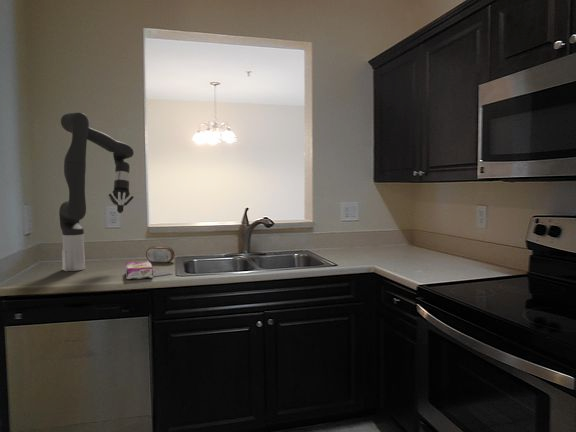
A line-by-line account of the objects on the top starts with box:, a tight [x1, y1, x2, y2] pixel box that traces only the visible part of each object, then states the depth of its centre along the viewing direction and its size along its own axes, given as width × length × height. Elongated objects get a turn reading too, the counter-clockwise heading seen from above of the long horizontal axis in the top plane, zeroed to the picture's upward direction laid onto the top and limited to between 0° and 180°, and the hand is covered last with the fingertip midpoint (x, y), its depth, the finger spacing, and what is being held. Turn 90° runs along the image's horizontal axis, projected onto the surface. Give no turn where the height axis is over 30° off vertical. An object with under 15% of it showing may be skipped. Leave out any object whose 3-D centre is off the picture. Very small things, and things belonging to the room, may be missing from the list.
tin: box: [145, 245, 175, 264], centre depth 222 cm, size 15×3×8 cm, turn 84°
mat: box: [134, 269, 173, 280], centre depth 191 cm, size 17×9×1 cm, turn 130°
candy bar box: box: [125, 260, 154, 280], centre depth 189 cm, size 11×5×16 cm
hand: (120, 212), depth 218 cm, fingers closed
